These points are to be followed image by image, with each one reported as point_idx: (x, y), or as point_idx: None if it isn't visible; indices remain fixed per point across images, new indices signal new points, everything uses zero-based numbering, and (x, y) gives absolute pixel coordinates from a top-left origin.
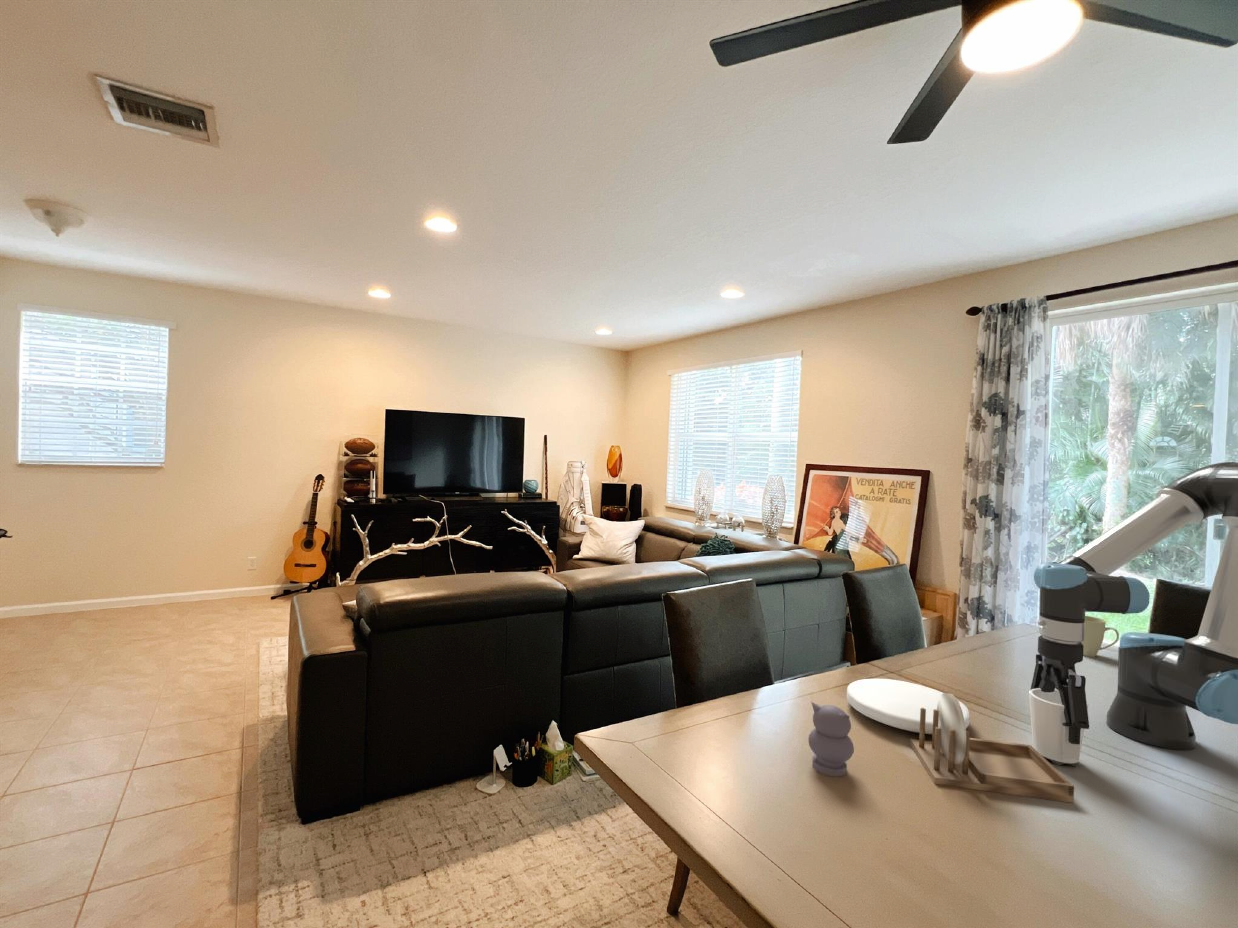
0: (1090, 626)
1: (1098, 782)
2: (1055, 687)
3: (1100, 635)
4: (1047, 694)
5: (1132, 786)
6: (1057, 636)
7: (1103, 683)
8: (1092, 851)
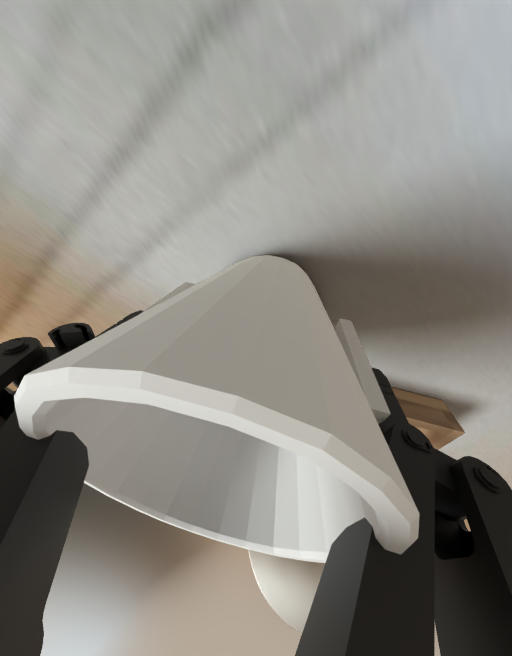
0: None
1: (396, 287)
2: (28, 498)
3: None
4: (94, 424)
5: (458, 182)
6: None
7: None
8: None
